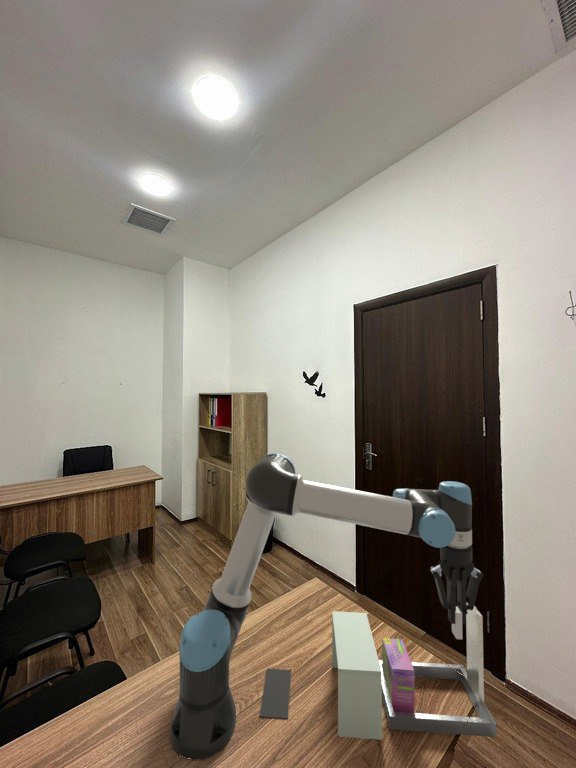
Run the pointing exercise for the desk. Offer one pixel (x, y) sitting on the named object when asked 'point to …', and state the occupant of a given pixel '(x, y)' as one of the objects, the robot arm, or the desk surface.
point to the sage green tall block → (357, 676)
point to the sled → (470, 680)
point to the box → (398, 674)
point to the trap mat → (276, 694)
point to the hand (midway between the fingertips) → (457, 635)
